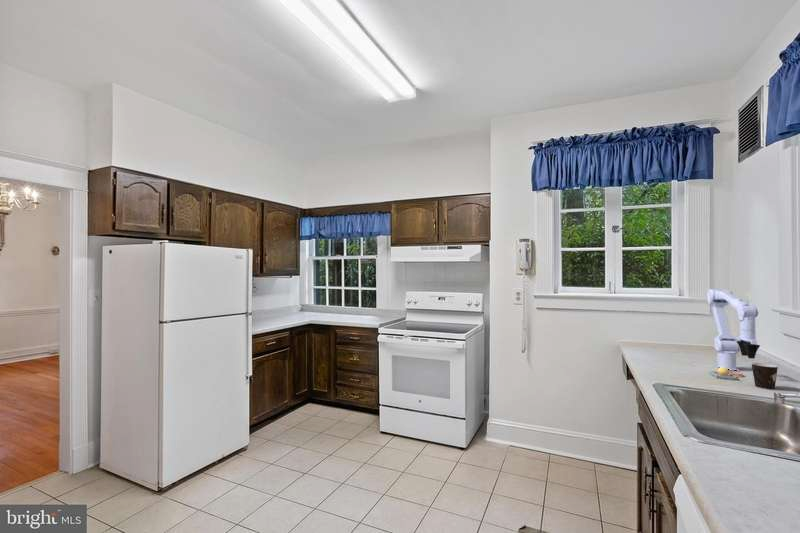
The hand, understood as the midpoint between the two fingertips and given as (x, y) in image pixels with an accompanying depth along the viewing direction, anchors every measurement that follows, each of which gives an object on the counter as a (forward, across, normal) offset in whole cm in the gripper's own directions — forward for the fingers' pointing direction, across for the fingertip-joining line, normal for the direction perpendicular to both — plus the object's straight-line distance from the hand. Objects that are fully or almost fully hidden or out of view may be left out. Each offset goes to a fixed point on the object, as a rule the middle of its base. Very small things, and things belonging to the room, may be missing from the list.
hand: (747, 356), depth 191 cm
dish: (+10, -1, -6) cm, 12 cm away
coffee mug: (+10, +22, -3) cm, 24 cm away
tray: (+10, +7, -12) cm, 17 cm away
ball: (+7, +7, -12) cm, 16 cm away
